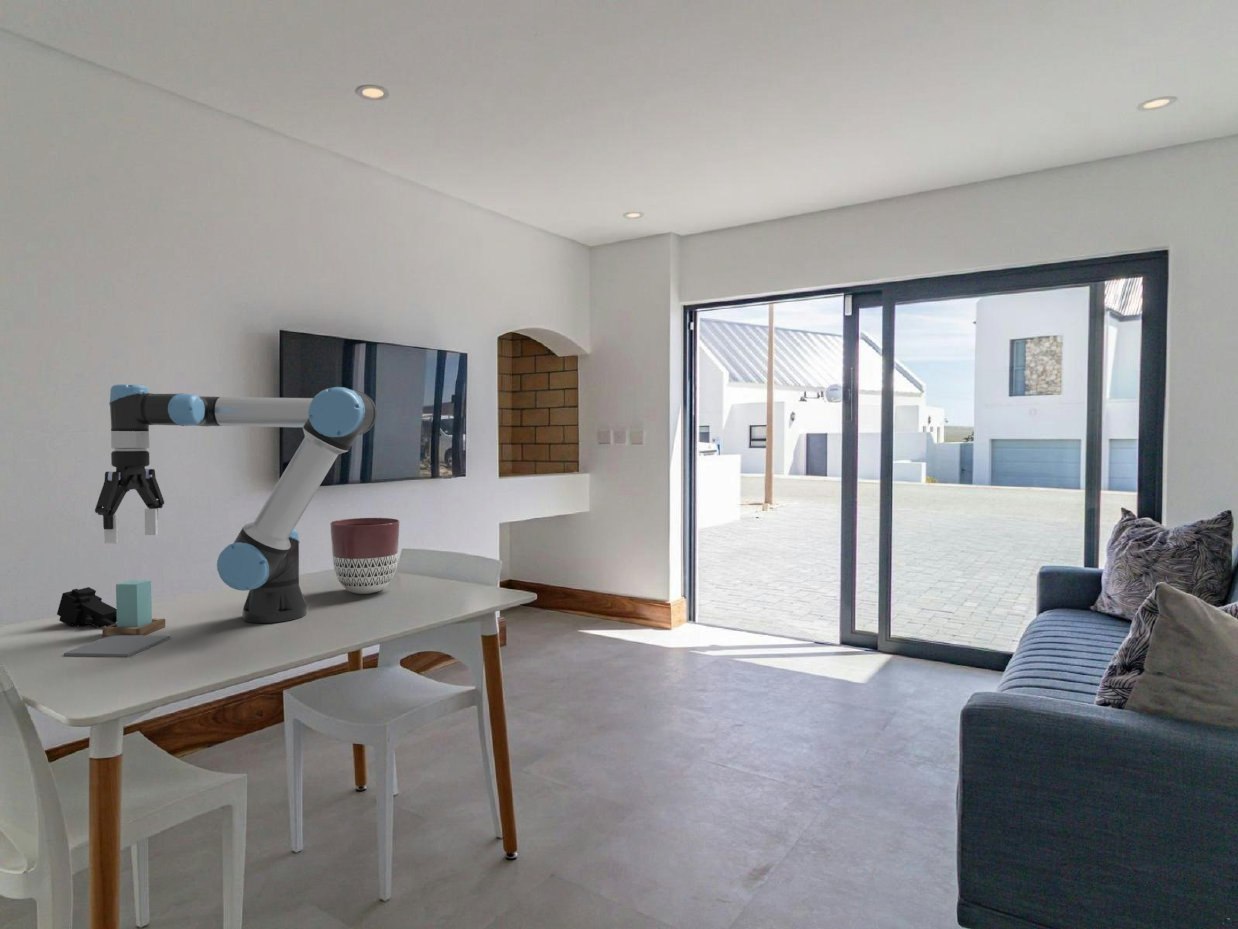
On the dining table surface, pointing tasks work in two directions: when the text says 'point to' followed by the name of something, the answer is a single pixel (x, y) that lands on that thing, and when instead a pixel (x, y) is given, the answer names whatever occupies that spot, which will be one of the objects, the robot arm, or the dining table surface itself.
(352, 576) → the planter
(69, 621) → the toy
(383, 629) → the dining table surface
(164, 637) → the pad
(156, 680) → the dining table surface
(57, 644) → the dining table surface
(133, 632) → the wooden square frame
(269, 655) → the dining table surface
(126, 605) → the block
